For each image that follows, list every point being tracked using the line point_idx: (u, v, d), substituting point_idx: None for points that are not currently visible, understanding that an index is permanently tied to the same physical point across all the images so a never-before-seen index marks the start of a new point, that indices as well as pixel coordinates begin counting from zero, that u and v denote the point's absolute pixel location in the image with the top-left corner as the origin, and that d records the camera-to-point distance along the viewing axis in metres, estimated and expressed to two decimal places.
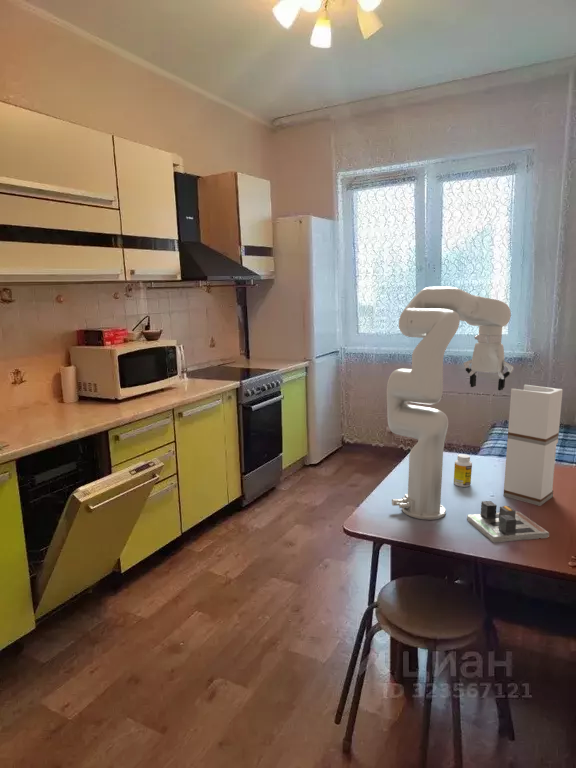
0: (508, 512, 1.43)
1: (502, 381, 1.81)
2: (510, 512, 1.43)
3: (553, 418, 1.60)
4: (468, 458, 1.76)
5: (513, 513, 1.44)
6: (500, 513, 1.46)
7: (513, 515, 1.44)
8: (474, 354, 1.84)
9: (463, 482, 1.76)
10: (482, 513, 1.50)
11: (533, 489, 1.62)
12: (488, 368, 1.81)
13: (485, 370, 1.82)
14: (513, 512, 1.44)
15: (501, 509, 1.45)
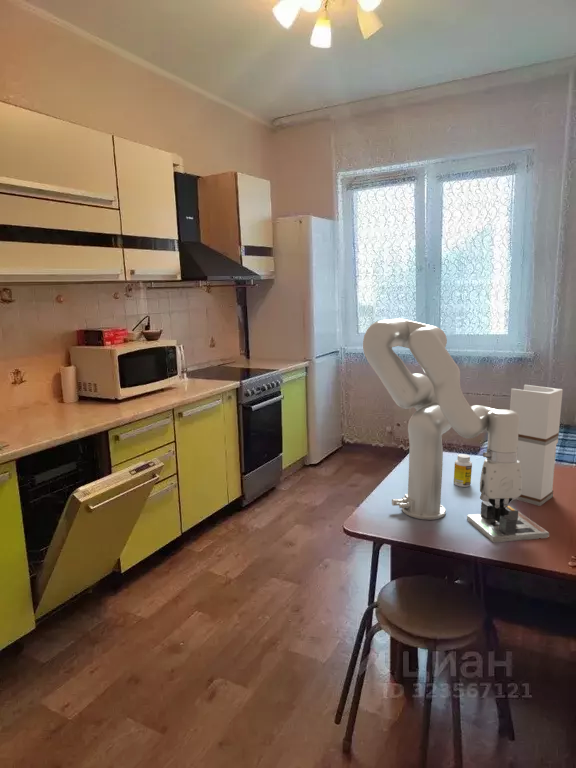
0: (511, 512, 1.43)
1: None
2: (513, 512, 1.44)
3: (553, 418, 1.60)
4: (468, 458, 1.76)
5: (516, 513, 1.44)
6: None
7: (516, 515, 1.44)
8: (491, 478, 1.39)
9: (463, 482, 1.76)
10: (482, 513, 1.50)
11: (533, 489, 1.62)
12: (509, 493, 1.41)
13: (506, 496, 1.41)
14: (515, 512, 1.44)
15: None
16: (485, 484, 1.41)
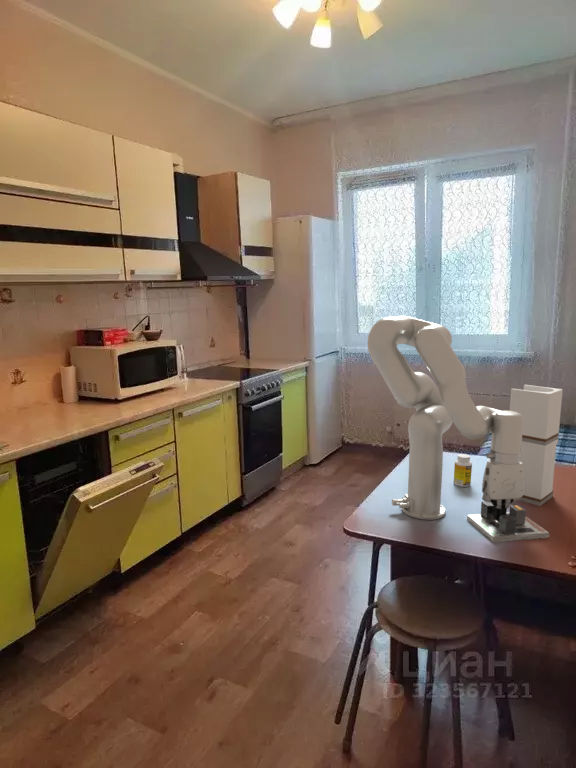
0: (518, 511, 1.44)
1: None
2: (520, 512, 1.44)
3: (553, 418, 1.60)
4: (468, 458, 1.76)
5: (523, 512, 1.44)
6: (510, 512, 1.46)
7: (523, 514, 1.44)
8: (494, 479, 1.40)
9: (463, 482, 1.76)
10: (482, 513, 1.50)
11: (533, 489, 1.62)
12: (511, 494, 1.41)
13: (508, 497, 1.41)
14: (523, 511, 1.44)
15: (511, 508, 1.46)
16: (488, 485, 1.41)
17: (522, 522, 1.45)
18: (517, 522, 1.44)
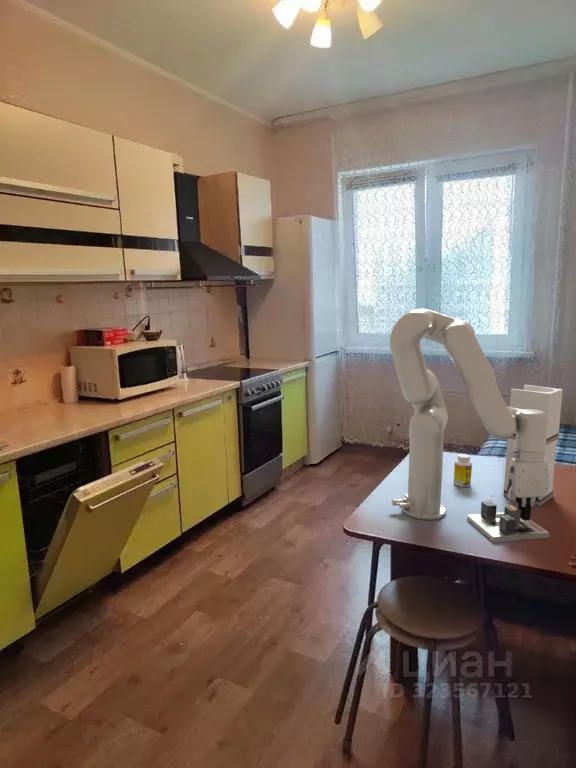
0: (513, 512, 1.44)
1: None
2: (515, 512, 1.44)
3: (553, 418, 1.60)
4: (468, 458, 1.76)
5: (518, 513, 1.44)
6: (505, 513, 1.46)
7: (518, 515, 1.44)
8: (519, 477, 1.41)
9: (463, 482, 1.76)
10: (482, 513, 1.50)
11: None
12: (536, 492, 1.42)
13: (533, 495, 1.42)
14: (518, 511, 1.44)
15: (506, 509, 1.46)
16: (513, 483, 1.42)
17: (517, 522, 1.44)
18: None
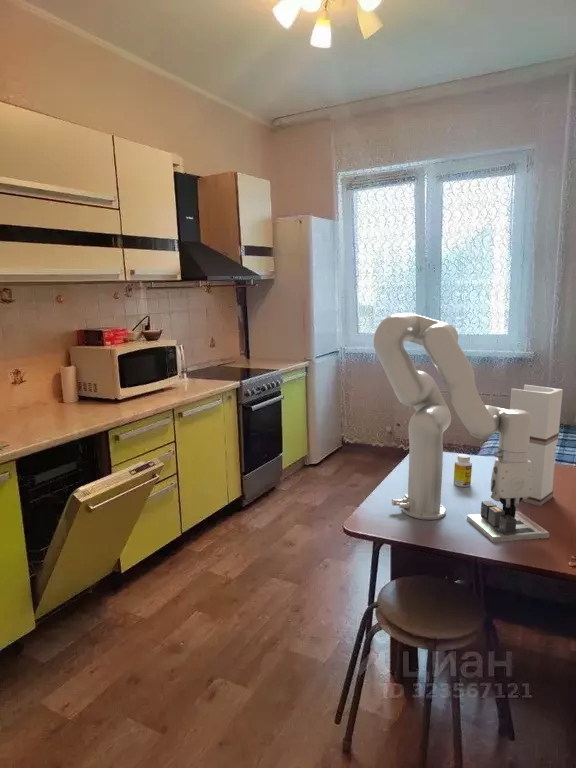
0: (497, 513, 1.43)
1: None
2: (499, 513, 1.43)
3: (553, 418, 1.60)
4: (468, 458, 1.76)
5: (502, 514, 1.43)
6: (489, 514, 1.46)
7: None
8: (503, 477, 1.40)
9: (463, 482, 1.76)
10: (482, 513, 1.50)
11: (533, 489, 1.62)
12: (520, 492, 1.41)
13: (517, 495, 1.41)
14: (502, 513, 1.43)
15: (490, 510, 1.45)
16: (496, 484, 1.41)
17: None
18: (496, 524, 1.43)
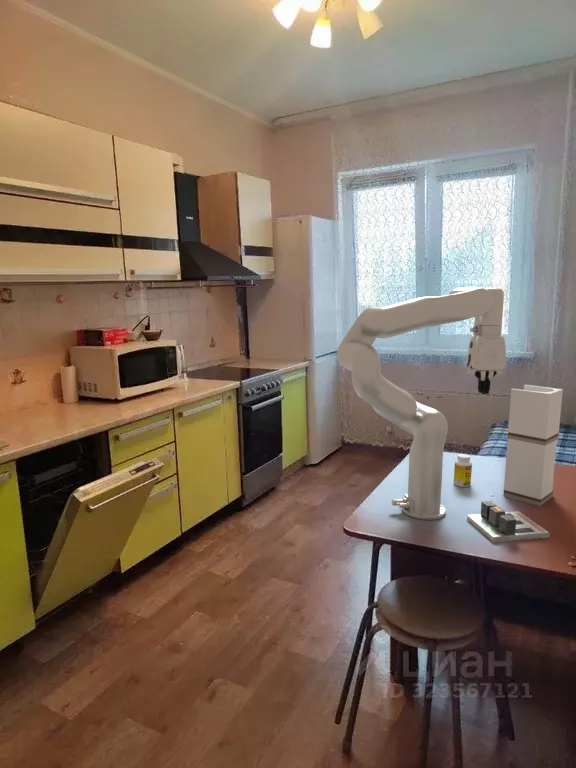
0: (498, 513, 1.43)
1: None
2: (500, 513, 1.43)
3: (553, 418, 1.60)
4: (468, 458, 1.76)
5: (503, 514, 1.43)
6: (490, 514, 1.46)
7: None
8: (477, 350, 1.50)
9: (463, 482, 1.76)
10: (482, 513, 1.50)
11: (533, 489, 1.62)
12: (494, 365, 1.52)
13: (491, 368, 1.52)
14: (502, 513, 1.43)
15: (491, 510, 1.45)
16: (472, 357, 1.52)
17: None
18: (496, 524, 1.43)
